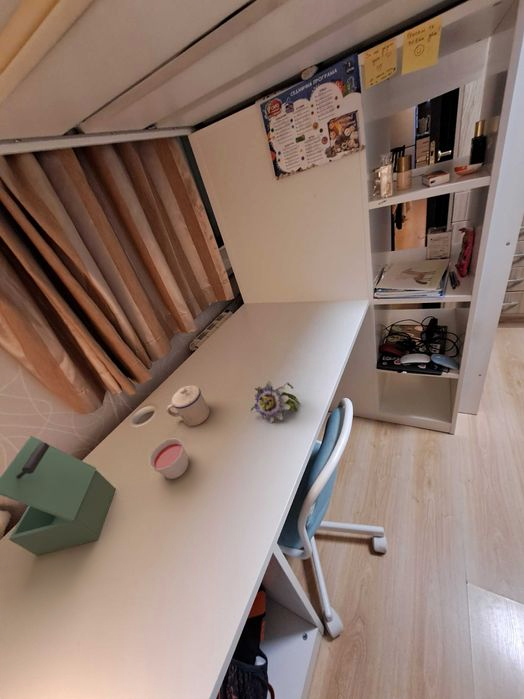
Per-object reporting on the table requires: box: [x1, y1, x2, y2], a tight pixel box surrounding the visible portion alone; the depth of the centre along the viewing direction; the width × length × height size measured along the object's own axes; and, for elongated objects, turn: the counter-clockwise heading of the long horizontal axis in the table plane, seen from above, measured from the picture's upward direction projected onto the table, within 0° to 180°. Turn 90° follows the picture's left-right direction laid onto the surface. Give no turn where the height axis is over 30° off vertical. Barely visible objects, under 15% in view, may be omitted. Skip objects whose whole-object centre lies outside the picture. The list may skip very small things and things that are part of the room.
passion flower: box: [250, 380, 301, 424], centre depth 82 cm, size 11×11×12 cm
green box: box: [8, 469, 116, 556], centre depth 70 cm, size 16×13×9 cm
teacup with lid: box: [166, 384, 211, 427], centre depth 88 cm, size 12×9×12 cm
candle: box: [148, 437, 189, 480], centre depth 75 cm, size 9×9×6 cm
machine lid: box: [0, 435, 97, 522], centre depth 62 cm, size 16×13×5 cm
